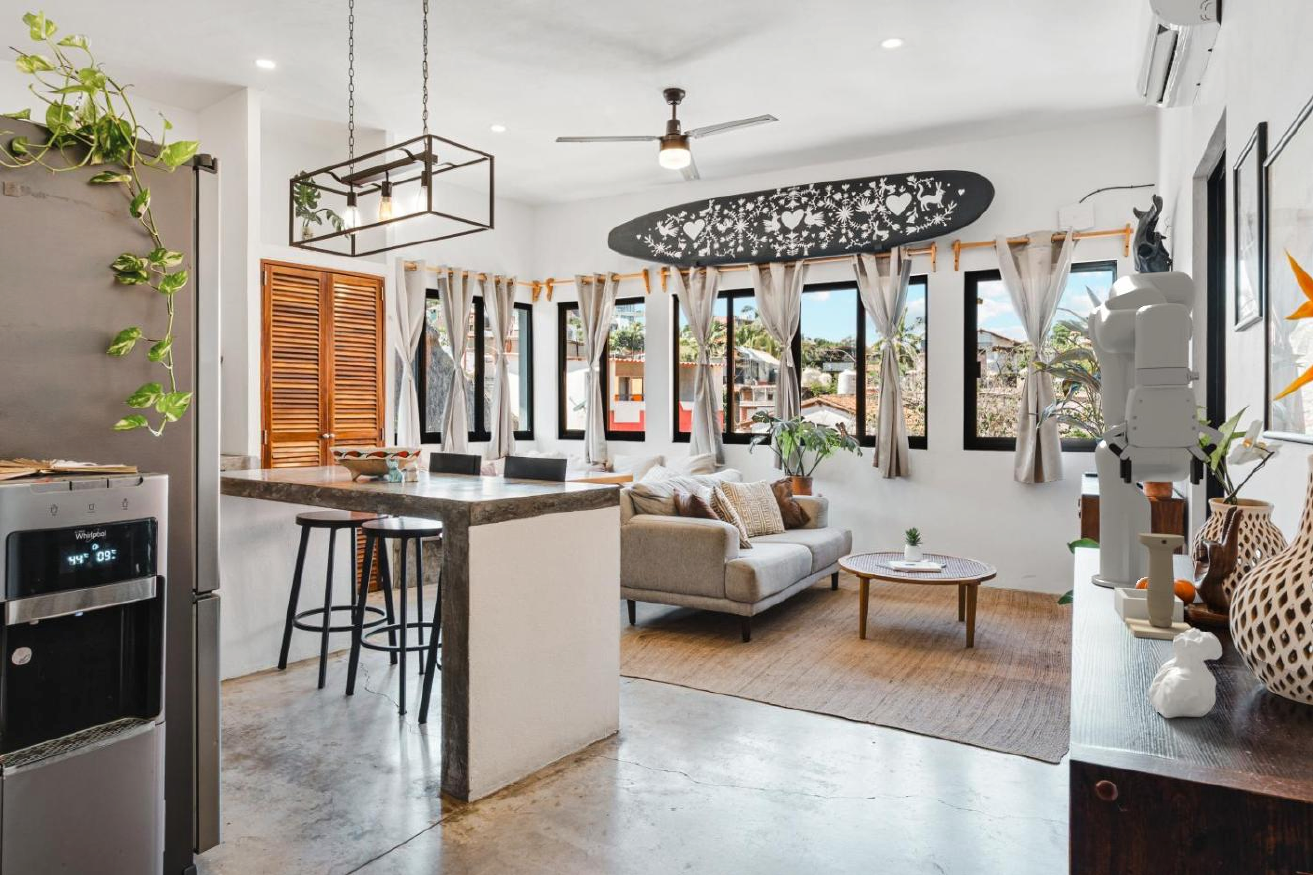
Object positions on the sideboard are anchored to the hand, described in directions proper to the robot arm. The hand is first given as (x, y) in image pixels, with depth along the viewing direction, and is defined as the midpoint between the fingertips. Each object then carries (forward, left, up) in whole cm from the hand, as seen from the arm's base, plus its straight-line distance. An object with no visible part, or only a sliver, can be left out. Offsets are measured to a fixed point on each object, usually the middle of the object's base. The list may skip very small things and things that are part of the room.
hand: (1160, 483), depth 134 cm
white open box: (-11, 0, -25) cm, 27 cm away
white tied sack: (+42, -5, -25) cm, 49 cm away
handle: (0, 0, -24) cm, 24 cm away
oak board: (0, 0, -25) cm, 25 cm away
